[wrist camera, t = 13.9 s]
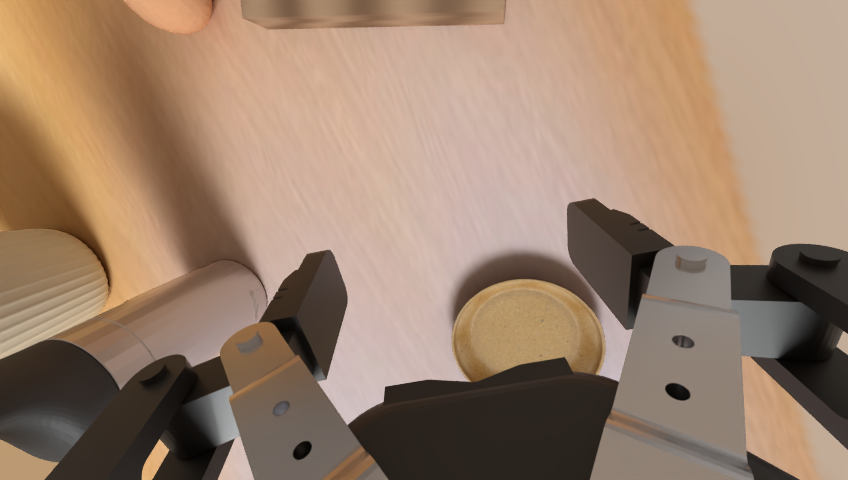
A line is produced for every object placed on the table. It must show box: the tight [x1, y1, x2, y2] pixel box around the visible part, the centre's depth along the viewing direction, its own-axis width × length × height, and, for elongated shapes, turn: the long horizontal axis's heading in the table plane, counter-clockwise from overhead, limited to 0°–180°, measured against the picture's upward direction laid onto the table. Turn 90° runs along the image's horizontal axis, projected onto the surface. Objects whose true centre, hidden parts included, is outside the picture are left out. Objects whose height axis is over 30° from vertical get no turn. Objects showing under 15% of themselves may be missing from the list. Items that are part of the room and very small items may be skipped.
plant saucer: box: [452, 279, 606, 382], centre depth 36 cm, size 15×15×3 cm
